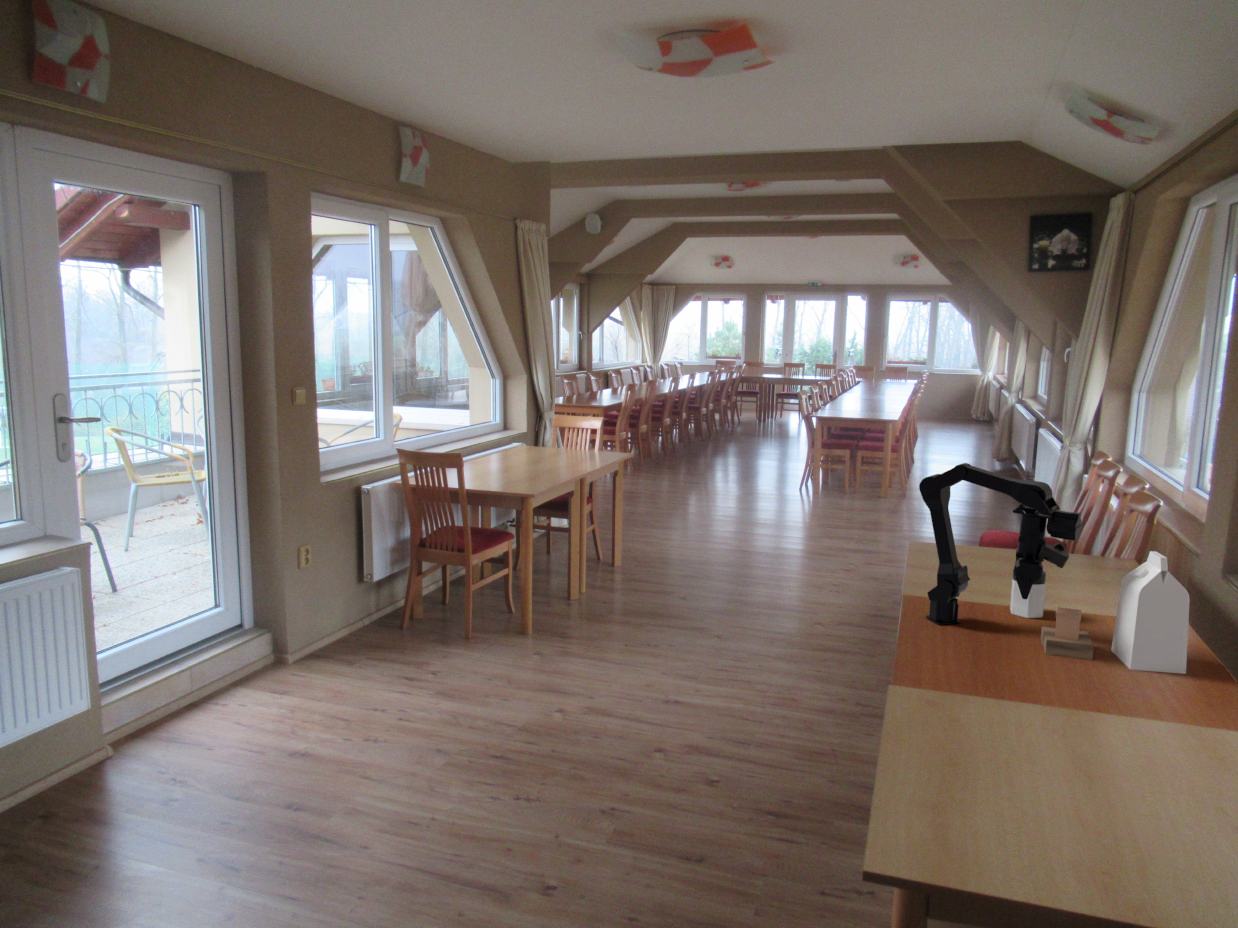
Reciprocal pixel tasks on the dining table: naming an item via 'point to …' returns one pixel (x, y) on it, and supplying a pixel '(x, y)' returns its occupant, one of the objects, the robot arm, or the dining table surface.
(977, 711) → the dining table surface
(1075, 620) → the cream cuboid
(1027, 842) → the dining table surface
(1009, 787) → the dining table surface
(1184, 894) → the dining table surface
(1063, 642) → the beige block
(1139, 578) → the milk
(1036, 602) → the jar
